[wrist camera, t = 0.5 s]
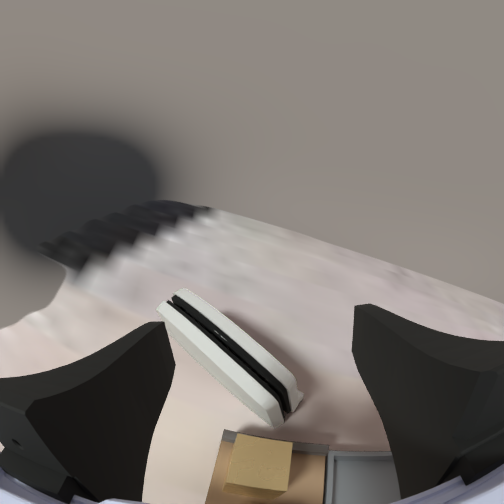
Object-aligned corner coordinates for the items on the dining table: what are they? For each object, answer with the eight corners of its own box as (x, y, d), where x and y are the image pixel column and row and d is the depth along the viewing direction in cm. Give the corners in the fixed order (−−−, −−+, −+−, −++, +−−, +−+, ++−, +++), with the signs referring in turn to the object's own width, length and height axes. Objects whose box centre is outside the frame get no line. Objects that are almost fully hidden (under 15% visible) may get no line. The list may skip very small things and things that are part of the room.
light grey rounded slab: (305, 400, 28) (317, 367, 20) (276, 432, 25) (276, 413, 18) (199, 316, 36) (179, 263, 29) (172, 339, 34) (142, 291, 27)
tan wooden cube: (273, 499, 16) (287, 491, 14) (221, 491, 16) (226, 482, 14) (279, 458, 19) (292, 442, 17) (231, 450, 20) (237, 433, 18)
